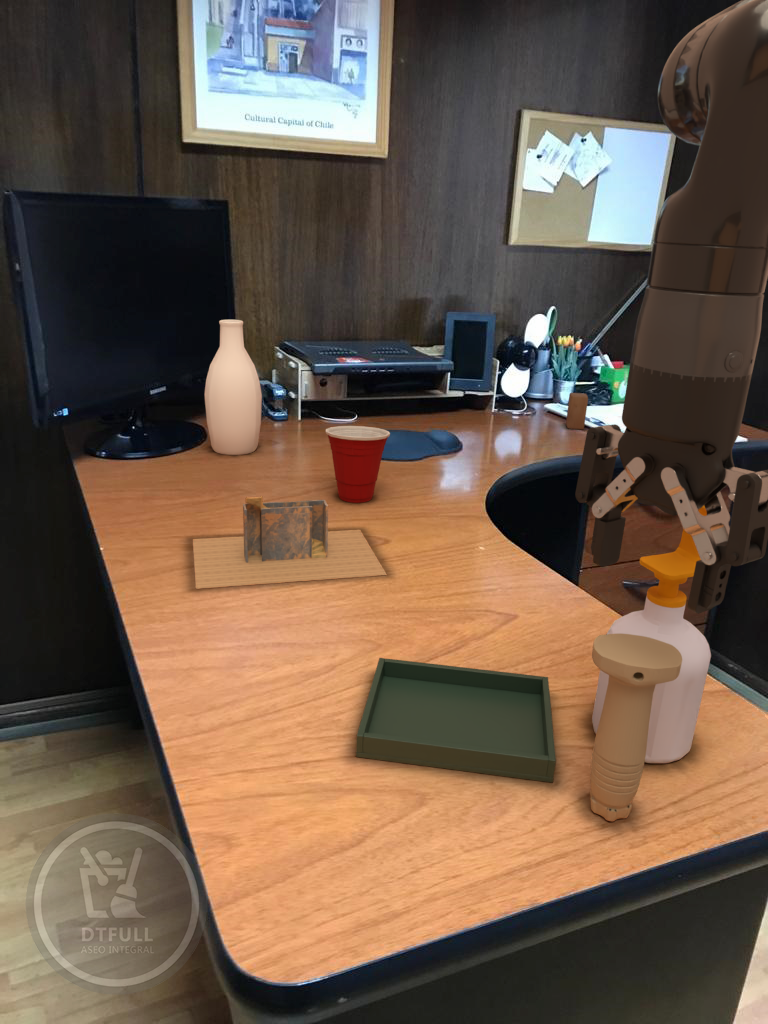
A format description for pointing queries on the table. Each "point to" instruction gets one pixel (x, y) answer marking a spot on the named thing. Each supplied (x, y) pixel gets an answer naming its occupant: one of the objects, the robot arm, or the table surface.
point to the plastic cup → (356, 460)
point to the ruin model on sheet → (283, 548)
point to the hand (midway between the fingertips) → (650, 585)
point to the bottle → (233, 395)
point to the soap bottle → (665, 623)
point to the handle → (626, 716)
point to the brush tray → (459, 720)
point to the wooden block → (576, 410)
